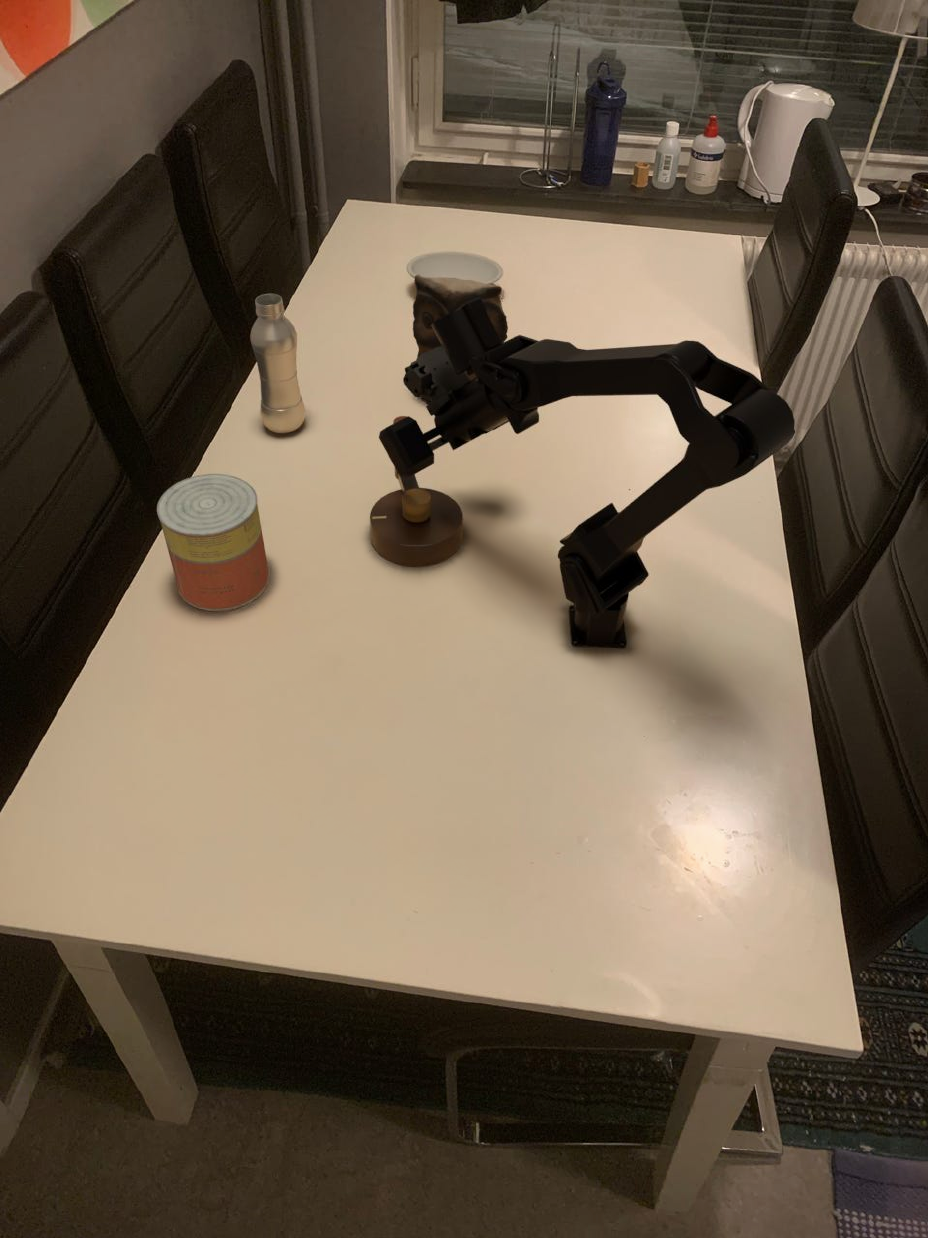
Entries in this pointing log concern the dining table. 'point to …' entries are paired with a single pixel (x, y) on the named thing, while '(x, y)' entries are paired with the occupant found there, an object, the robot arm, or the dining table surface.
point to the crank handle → (413, 496)
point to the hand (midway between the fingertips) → (417, 444)
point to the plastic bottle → (277, 365)
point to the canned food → (214, 541)
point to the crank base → (416, 530)
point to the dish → (455, 267)
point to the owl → (451, 308)
